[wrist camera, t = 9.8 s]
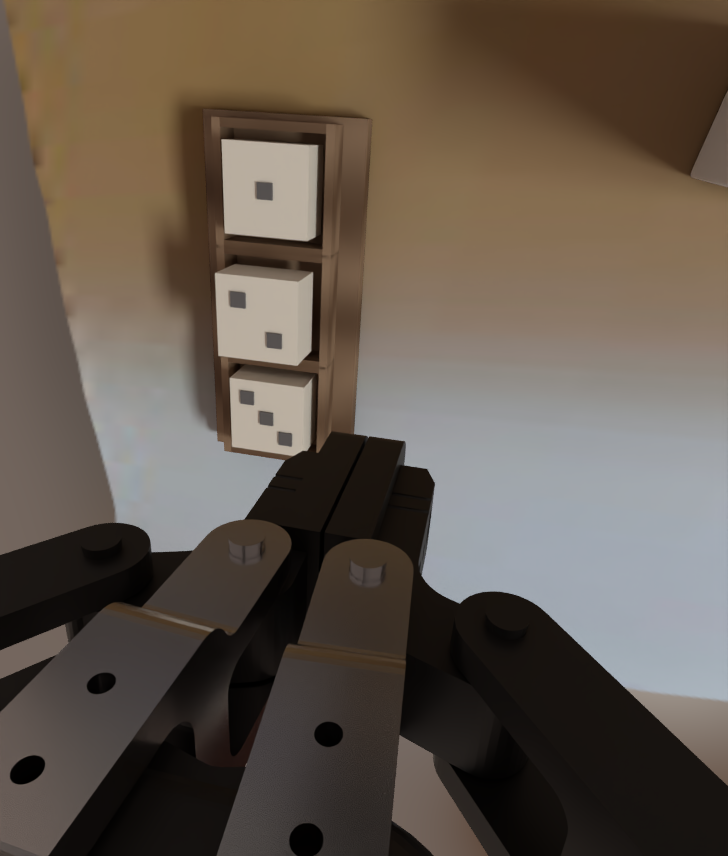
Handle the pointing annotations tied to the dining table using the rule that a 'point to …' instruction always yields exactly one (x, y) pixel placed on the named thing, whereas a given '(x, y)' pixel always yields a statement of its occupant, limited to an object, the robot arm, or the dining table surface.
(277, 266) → the brown tile tray
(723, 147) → the milk carton
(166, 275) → the dining table surface
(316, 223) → the tile one
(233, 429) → the tile three
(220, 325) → the tile two
